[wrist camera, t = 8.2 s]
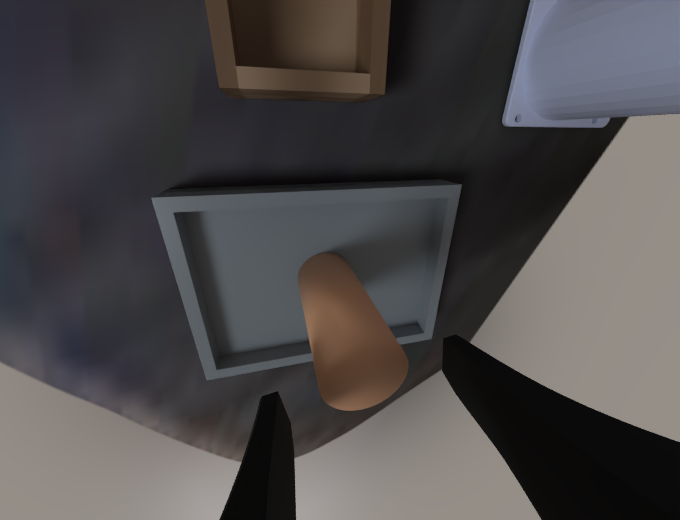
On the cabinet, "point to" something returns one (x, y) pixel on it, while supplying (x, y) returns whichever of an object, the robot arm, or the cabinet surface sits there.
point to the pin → (348, 336)
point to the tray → (301, 260)
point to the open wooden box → (300, 48)
